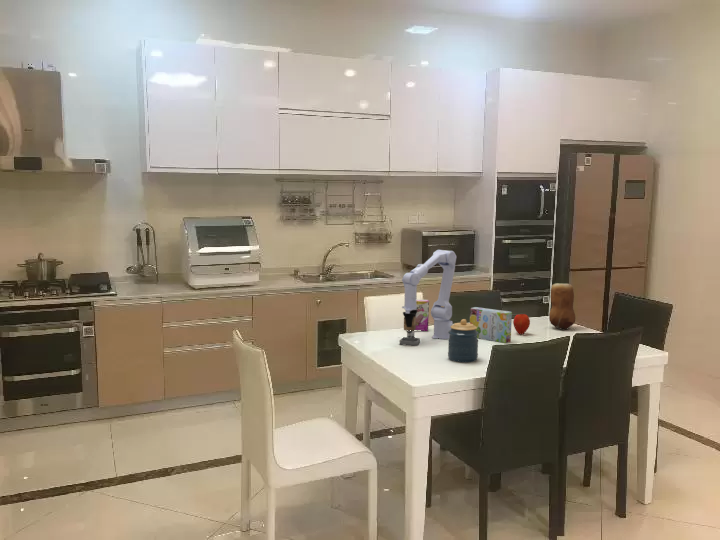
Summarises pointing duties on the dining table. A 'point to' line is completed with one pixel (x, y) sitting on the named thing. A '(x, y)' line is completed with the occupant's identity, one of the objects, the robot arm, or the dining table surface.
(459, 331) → the canister
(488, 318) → the snack box
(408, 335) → the crank lever
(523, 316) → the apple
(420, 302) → the candy bar box
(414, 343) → the tray
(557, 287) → the butternut squash
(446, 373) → the dining table surface
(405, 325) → the block
